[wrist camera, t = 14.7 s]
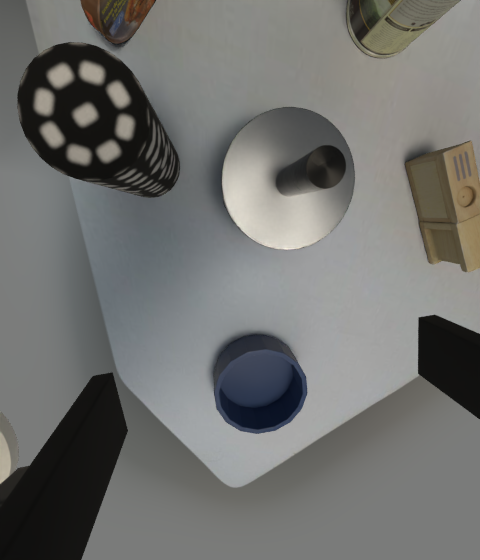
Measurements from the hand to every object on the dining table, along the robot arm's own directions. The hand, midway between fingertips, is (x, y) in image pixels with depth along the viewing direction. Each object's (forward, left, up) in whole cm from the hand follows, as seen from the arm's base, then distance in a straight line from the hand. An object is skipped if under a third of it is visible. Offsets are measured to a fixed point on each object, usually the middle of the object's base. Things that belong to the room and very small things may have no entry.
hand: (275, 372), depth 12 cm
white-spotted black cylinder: (-9, +14, -31) cm, 35 cm away
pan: (+2, -19, -31) cm, 36 cm away
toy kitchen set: (+38, +5, -31) cm, 49 cm away
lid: (+7, +9, -21) cm, 24 cm away
